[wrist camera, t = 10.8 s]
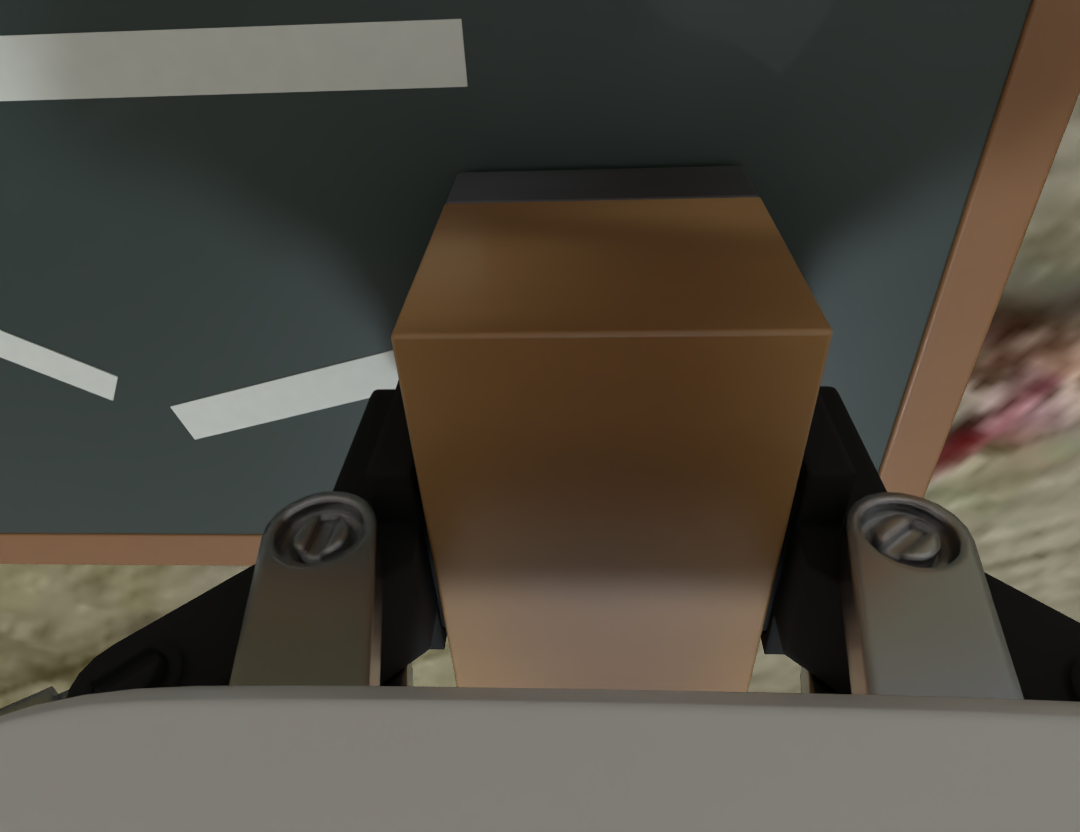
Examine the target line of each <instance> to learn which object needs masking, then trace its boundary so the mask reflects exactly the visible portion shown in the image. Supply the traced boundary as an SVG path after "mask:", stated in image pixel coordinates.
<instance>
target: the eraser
mask: <svg viewBox="0 0 1080 832" xmlns="http://www.w3.org/2000/svg"><path fill="white" fill-rule="evenodd" d="M832 333H833V332H832V329H831V327H830V325H829V323H828V321H827V320H826V318H825V316H824V314H823V312H822V310H821V308H820V307H819V305H818V303H817V301H816V299H815V297H814V296H813V294H812V292H811V290H810V288H809V286H808V284H807V283H806V281H805V279H804V277H803V275H802V273H801V271H800V270H799V268H798V266H797V264H796V262H795V260H794V259H793V257H792V255H791V253H790V251H789V249H788V247H787V246H786V244H785V242H784V240H783V238H782V236H781V235H780V233H779V231H778V229H777V227H776V225H775V223H774V222H773V220H772V218H771V216H770V214H769V212H768V211H767V209H766V207H765V205H764V203H763V201H762V199H761V198H759V195H758V193H757V191H756V190H755V188H754V186H753V184H752V182H751V180H750V178H749V177H748V175H747V173H746V171H745V169H744V167H742V166H711V167H669V168H628V169H586V170H545V171H503V172H461V173H459V174H457V176H456V179H455V181H454V184H453V186H452V189H451V191H450V193H449V196H448V198H447V201H446V204H445V205H444V207H443V209H442V212H441V214H440V217H439V219H438V222H437V224H436V226H435V229H434V231H433V234H432V236H431V239H430V241H429V244H428V246H427V248H426V251H425V253H424V256H423V258H422V261H421V263H420V266H419V268H418V271H417V273H416V275H415V278H414V280H413V283H412V285H411V288H410V290H409V293H408V295H407V297H406V300H405V302H404V305H403V307H402V310H401V312H400V315H399V317H398V319H397V322H396V324H395V327H394V329H393V332H392V334H391V341H392V347H393V352H394V357H395V362H396V368H397V373H398V378H399V384H400V389H401V394H402V399H403V405H404V410H405V415H406V420H407V426H408V431H409V436H410V441H411V447H412V452H413V457H414V463H415V468H416V473H417V478H418V484H419V489H420V494H421V499H422V505H423V510H424V515H425V520H426V526H427V531H428V536H429V542H430V547H431V552H432V557H433V563H434V568H435V573H436V578H437V584H438V589H439V594H440V599H441V605H442V610H443V615H444V620H445V626H446V631H447V636H448V642H449V647H450V652H451V657H452V663H453V668H454V673H455V678H456V684H457V687H488V688H551V689H611V690H666V691H720V692H748V688H749V684H750V680H751V676H752V672H753V667H754V663H755V659H756V655H757V650H758V646H759V642H760V638H761V633H762V629H763V625H764V621H765V617H766V612H767V608H768V604H769V600H770V595H771V591H772V587H773V583H774V578H775V574H776V570H777V566H778V562H779V557H780V553H781V549H782V545H783V540H784V536H785V532H786V528H787V523H788V519H789V515H790V511H791V507H792V502H793V498H794V494H795V490H796V485H797V481H798V477H799V473H800V468H801V464H802V460H803V456H804V452H805V447H806V443H807V439H808V435H809V430H810V426H811V422H812V418H813V413H814V409H815V405H816V401H817V397H818V392H819V388H820V384H821V380H822V375H823V371H824V367H825V363H826V358H827V354H828V350H829V346H830V342H831V337H832Z"/></svg>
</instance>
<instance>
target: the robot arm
mask: <svg viewBox="0 0 1080 832" xmlns="http://www.w3.org/2000/svg"><path fill="white" fill-rule="evenodd" d="M446 637H447V631H446V626H445V620H444V615H443V610H442V605H441V599H440V594H439V589H438V584H437V578H436V573H435V568H434V563H433V557H432V552H431V547H430V542H429V536H428V531H427V526H426V520H425V515H424V510H423V505H422V499H421V494H420V489H419V484H418V478H417V473H416V468H415V463H414V457H413V452H412V447H411V441H410V436H409V431H408V426H407V420H406V415H405V410H404V405H403V399H402V394H401V389H400V384H399V380H398V383H397V386H396V389H377V390H375V391H373V393H372V394H371V396H370V399H369V401H368V404H367V406H366V409H365V411H364V414H363V416H362V419H361V421H360V424H359V426H358V429H357V431H356V434H355V436H354V439H353V441H352V444H351V446H350V449H349V451H348V454H347V456H346V459H345V461H344V464H343V467H342V469H341V472H340V474H339V477H338V479H337V482H336V484H335V487H334V489H333V491H328V492H320V493H316V494H311V495H307V496H305V497H303V498H300V499H298V500H296V501H294V502H291V503H290V504H288V505H287V506H286V507H284V508H283V509H281V510H280V511H279V512H277V513H276V514H275V516H274V517H273V518H272V519H271V520H270V521H269V523H268V524H267V525H266V528H265V530H264V532H263V535H262V537H261V541H260V546H259V550H258V555H257V559H256V564H254V565H253V566H251V567H249V568H247V569H246V570H244V571H242V572H240V573H239V574H237V575H235V576H233V577H232V578H230V579H228V580H226V581H225V582H223V583H221V584H219V585H218V586H216V587H214V588H212V589H211V590H209V591H207V592H205V593H204V594H202V595H200V596H198V597H197V598H195V599H193V600H191V601H189V602H188V603H186V604H184V605H182V606H181V607H179V608H177V609H175V610H174V611H172V612H170V613H168V614H167V615H165V616H163V617H161V618H160V619H158V620H156V621H154V622H153V623H151V624H149V625H147V626H146V627H144V628H142V629H140V630H139V631H137V632H135V633H133V634H132V635H130V636H128V637H126V638H125V639H123V640H121V641H119V642H117V643H116V644H114V645H112V646H111V647H110V648H108V649H107V650H105V651H104V652H102V653H101V654H99V655H98V656H97V657H95V658H94V659H93V660H92V661H91V662H90V663H89V664H88V665H87V666H86V667H85V668H84V669H83V670H82V671H81V672H80V673H79V675H78V676H77V678H76V680H75V681H74V683H73V684H72V686H71V688H70V689H69V690H67V691H65V692H62V693H60V694H58V693H57V692H56V690H55V689H54V688H53V686H52V687H49V688H47V689H45V690H42V691H40V692H38V693H35V694H33V695H31V696H29V697H26V698H24V699H22V700H19V701H17V702H15V703H12V704H10V705H8V706H5V707H3V708H1V709H0V832H1080V623H1079V622H1077V621H1075V620H1073V619H1071V618H1069V617H1068V616H1066V615H1064V614H1062V613H1060V612H1058V611H1056V610H1054V609H1052V608H1051V607H1049V606H1047V605H1045V604H1043V603H1041V602H1039V601H1037V600H1036V599H1034V598H1032V597H1030V596H1028V595H1026V594H1024V593H1022V592H1020V591H1019V590H1017V589H1015V588H1013V587H1011V586H1009V585H1007V584H1005V583H1003V582H1002V581H1000V580H998V579H996V578H994V577H992V576H990V575H988V574H987V573H985V572H984V570H983V567H982V564H981V560H980V557H979V554H978V551H977V548H976V545H975V541H974V539H973V538H972V536H971V534H970V532H969V530H968V528H967V527H966V526H965V525H964V524H963V523H962V522H961V521H960V520H959V519H958V518H957V517H956V516H955V515H954V514H952V513H951V512H949V511H948V510H946V509H945V508H943V507H942V506H940V505H938V504H936V503H934V502H931V501H929V500H926V499H924V498H922V497H919V496H914V495H910V494H905V493H899V492H887V490H886V488H885V486H884V484H883V482H882V480H881V478H880V476H879V474H878V472H877V470H876V468H875V466H874V464H873V462H872V460H871V458H870V456H869V454H868V452H867V450H866V448H865V446H864V444H863V441H862V439H861V437H860V435H859V433H858V431H857V429H856V427H855V425H854V423H853V421H852V419H851V417H850V415H849V413H848V411H847V409H846V407H845V405H844V403H843V401H842V399H841V397H840V395H839V393H838V392H837V390H836V389H835V388H834V387H831V386H820V388H819V392H818V397H817V401H816V405H815V409H814V413H813V418H812V422H811V426H810V430H809V435H808V439H807V443H806V447H805V452H804V456H803V460H802V464H801V468H800V473H799V477H798V481H797V485H796V490H795V494H794V498H793V502H792V507H791V511H790V515H789V519H788V523H787V528H786V532H785V536H784V540H783V545H782V549H781V553H780V557H779V562H778V566H777V570H776V574H775V578H774V583H773V587H772V591H771V595H770V600H769V604H768V608H767V612H766V617H765V621H764V625H763V629H762V633H761V640H762V645H763V649H764V653H765V654H785V655H786V656H788V657H789V658H791V659H792V660H793V661H795V662H796V663H798V664H799V665H800V666H802V667H801V674H800V681H801V693H767V692H720V691H666V690H611V689H551V688H488V687H413V669H412V664H411V662H412V661H414V660H415V659H416V658H418V657H419V656H421V655H422V654H423V653H425V652H426V651H427V650H429V649H444V648H445V642H446Z"/></svg>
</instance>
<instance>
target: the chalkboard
mask: <svg viewBox="0 0 1080 832" xmlns="http://www.w3.org/2000/svg"><path fill="white" fill-rule="evenodd" d="M1079 93H1080V0H0V564H102V565H246V566H253V565H254V564H256V559H257V555H258V550H259V546H260V541H261V537H262V535H263V532H264V530H265V528H266V525H267V524H268V523H269V521H270V520H271V519H272V518H273V517H274V516H275V514H276V513H277V512H279V511H280V510H281V509H283V508H284V507H286V506H287V505H288V504H290V503H291V502H294V501H296V500H298V499H300V498H303V497H305V496H307V495H311V494H316V493H320V492H328V491H333V489H334V487H335V484H336V482H337V479H338V477H339V474H340V472H341V469H342V467H343V464H344V461H345V459H346V456H347V454H348V451H349V449H350V446H351V444H352V441H353V439H354V436H355V434H356V431H357V429H358V426H359V424H360V421H361V419H362V416H363V414H364V411H365V409H366V406H367V404H368V401H369V399H370V396H371V394H372V393H373V391H375V390H377V389H396V386H397V383H398V380H399V378H398V373H397V368H396V362H395V357H394V352H393V347H392V341H391V334H392V332H393V329H394V327H395V324H396V322H397V319H398V317H399V315H400V312H401V310H402V307H403V305H404V302H405V300H406V297H407V295H408V293H409V290H410V288H411V285H412V283H413V280H414V278H415V275H416V273H417V271H418V268H419V266H420V263H421V261H422V258H423V256H424V253H425V251H426V248H427V246H428V244H429V241H430V239H431V236H432V234H433V231H434V229H435V226H436V224H437V222H438V219H439V217H440V214H441V212H442V209H443V207H444V205H445V204H446V201H447V198H448V196H449V193H450V191H451V189H452V186H453V184H454V181H455V179H456V176H457V174H459V173H461V172H503V171H545V170H586V169H628V168H669V167H711V166H742V167H744V169H745V171H746V173H747V175H748V177H749V178H750V180H751V182H752V184H753V186H754V188H755V190H756V191H757V193H758V195H759V198H761V199H762V201H763V203H764V205H765V207H766V209H767V211H768V212H769V214H770V216H771V218H772V220H773V222H774V223H775V225H776V227H777V229H778V231H779V233H780V235H781V236H782V238H783V240H784V242H785V244H786V246H787V247H788V249H789V251H790V253H791V255H792V257H793V259H794V260H795V262H796V264H797V266H798V268H799V270H800V271H801V273H802V275H803V277H804V279H805V281H806V283H807V284H808V286H809V288H810V290H811V292H812V294H813V296H814V297H815V299H816V301H817V303H818V305H819V307H820V308H821V310H822V312H823V314H824V316H825V318H826V320H827V321H828V323H829V325H830V327H831V329H832V332H833V333H832V337H831V342H830V346H829V350H828V354H827V358H826V363H825V367H824V371H823V375H822V380H821V384H820V386H831V387H834V388H835V389H836V390H837V392H838V393H839V395H840V397H841V399H842V401H843V403H844V405H845V407H846V409H847V411H848V413H849V415H850V417H851V419H852V421H853V423H854V425H855V427H856V429H857V431H858V433H859V435H860V437H861V439H862V441H863V444H864V446H865V448H866V450H867V452H868V454H869V456H870V458H871V460H872V462H873V464H874V466H875V468H876V470H877V472H878V474H879V476H880V478H881V480H882V482H883V484H884V486H885V488H886V490H887V492H899V493H905V494H910V495H914V496H919V497H922V498H924V495H925V492H926V490H927V487H928V485H929V482H930V479H931V477H932V474H933V472H934V469H935V466H936V464H937V461H938V459H939V456H940V454H941V451H942V448H943V446H944V443H945V441H946V438H947V435H948V433H949V430H950V428H951V425H952V422H953V420H954V417H955V415H956V412H957V409H958V407H959V404H960V402H961V399H962V396H963V394H964V391H965V389H966V386H967V383H968V381H969V378H970V376H971V373H972V370H973V368H974V365H975V363H976V360H977V357H978V355H979V352H980V350H981V347H982V345H983V342H984V339H985V337H986V334H987V332H988V329H989V326H990V324H991V321H992V319H993V316H994V313H995V311H996V308H997V306H998V303H999V300H1000V298H1001V295H1002V293H1003V290H1004V287H1005V285H1006V282H1007V280H1008V277H1009V274H1010V272H1011V269H1012V267H1013V264H1014V261H1015V259H1016V256H1017V254H1018V251H1019V249H1020V246H1021V243H1022V241H1023V238H1024V236H1025V233H1026V230H1027V228H1028V225H1029V223H1030V220H1031V217H1032V215H1033V212H1034V210H1035V207H1036V204H1037V202H1038V199H1039V197H1040V194H1041V191H1042V189H1043V186H1044V184H1045V181H1046V178H1047V176H1048V173H1049V171H1050V168H1051V165H1052V163H1053V160H1054V158H1055V155H1056V153H1057V150H1058V147H1059V145H1060V142H1061V140H1062V137H1063V134H1064V132H1065V129H1066V127H1067V124H1068V121H1069V119H1070V116H1071V114H1072V111H1073V108H1074V106H1075V103H1076V101H1077V98H1078V95H1079Z"/></svg>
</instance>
